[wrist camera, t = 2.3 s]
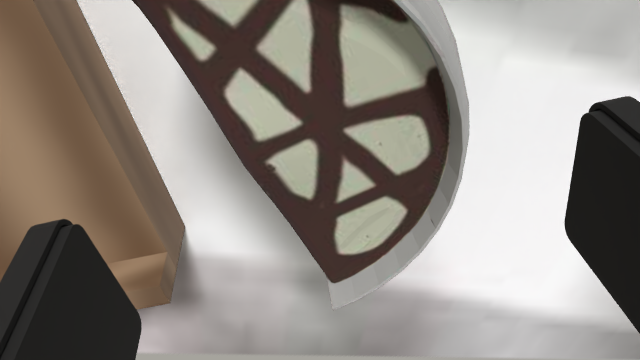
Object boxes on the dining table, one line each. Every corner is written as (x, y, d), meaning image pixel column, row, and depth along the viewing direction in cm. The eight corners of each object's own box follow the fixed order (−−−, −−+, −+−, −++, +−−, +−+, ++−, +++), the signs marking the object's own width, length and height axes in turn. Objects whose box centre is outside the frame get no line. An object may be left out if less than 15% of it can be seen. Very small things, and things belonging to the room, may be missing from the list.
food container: (438, 92, 22) (532, 250, 14) (315, 146, 24) (340, 320, 16) (325, -229, 15) (388, -268, 7) (157, -129, 16) (54, -68, 8)
